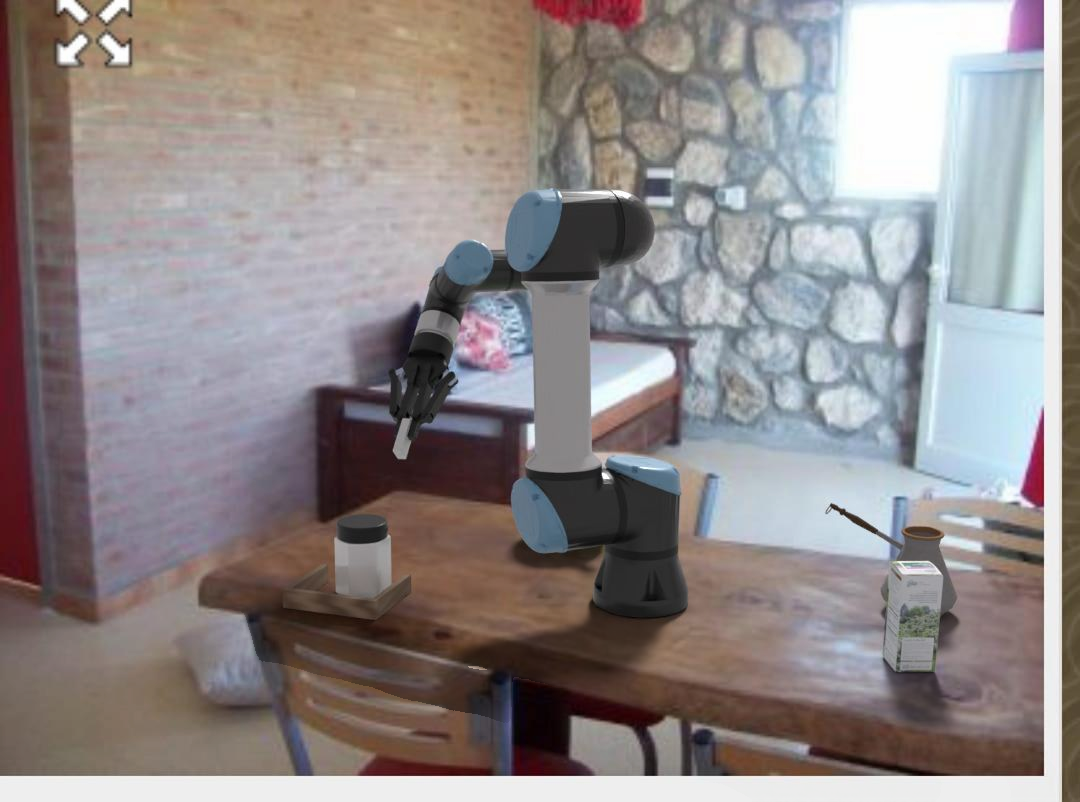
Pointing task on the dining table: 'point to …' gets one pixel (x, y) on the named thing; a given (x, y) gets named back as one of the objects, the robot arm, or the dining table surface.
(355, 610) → the box
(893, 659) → the syrup box
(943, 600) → the coffee pot
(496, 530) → the dining table surface
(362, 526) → the jar
